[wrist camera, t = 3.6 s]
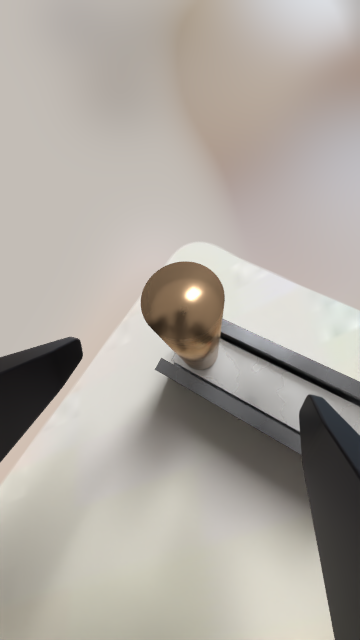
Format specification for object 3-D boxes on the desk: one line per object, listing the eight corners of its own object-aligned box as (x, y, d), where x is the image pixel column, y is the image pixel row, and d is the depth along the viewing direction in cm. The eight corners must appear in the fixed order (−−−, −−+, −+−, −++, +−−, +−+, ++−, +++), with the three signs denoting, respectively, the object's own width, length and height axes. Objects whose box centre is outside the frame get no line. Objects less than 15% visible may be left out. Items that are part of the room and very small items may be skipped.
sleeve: (169, 375, 18) (154, 369, 13) (196, 325, 19) (191, 304, 14) (349, 479, 14) (413, 520, 10) (371, 410, 15) (439, 418, 11)
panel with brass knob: (177, 365, 17) (116, 319, 6) (194, 334, 18) (164, 243, 7) (340, 455, 14) (801, 688, 3) (354, 414, 14) (781, 483, 4)
